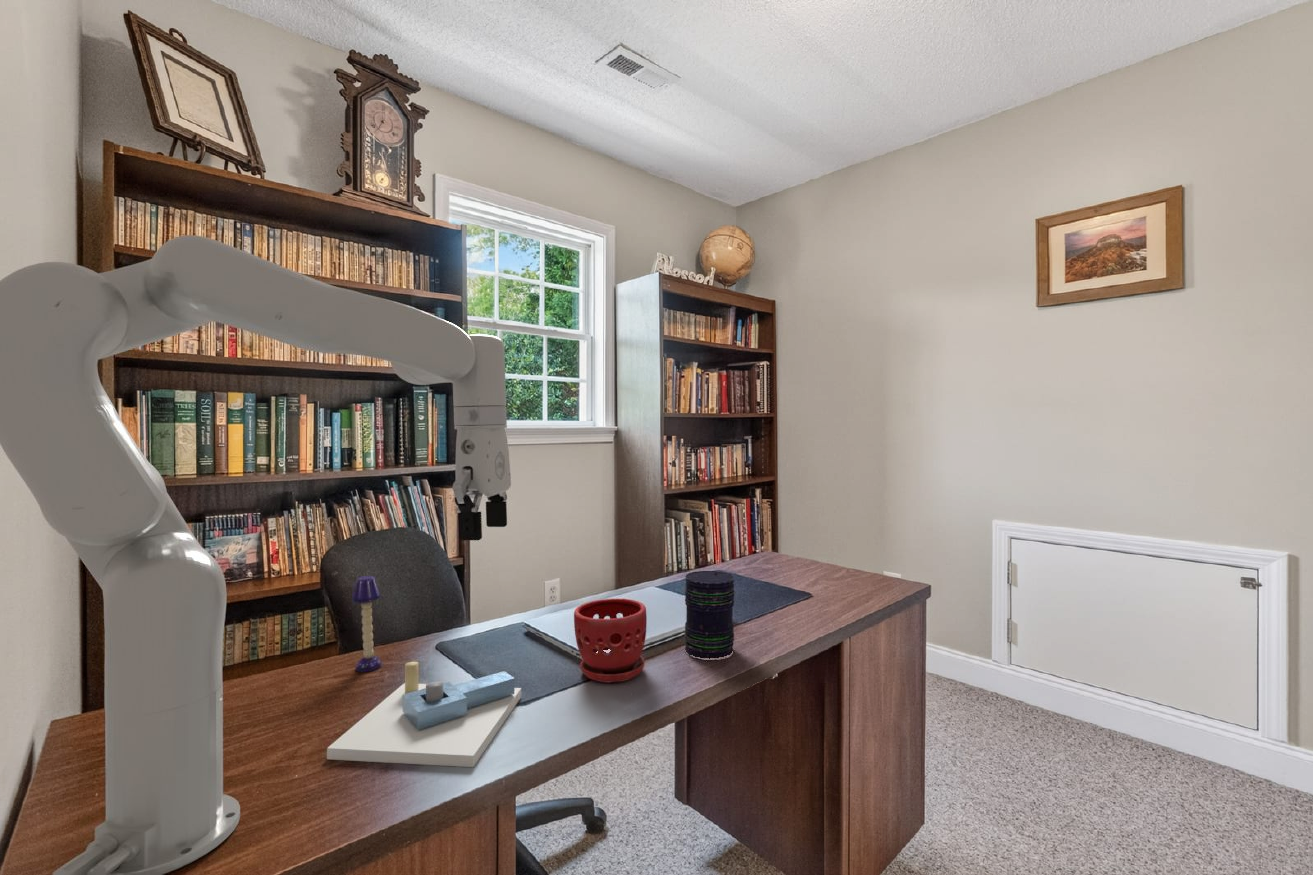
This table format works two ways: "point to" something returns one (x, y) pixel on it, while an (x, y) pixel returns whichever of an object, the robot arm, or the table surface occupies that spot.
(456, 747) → the post board
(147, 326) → the robot arm
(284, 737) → the table surface
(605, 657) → the plant pot
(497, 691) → the square nut with handle
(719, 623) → the storage jar
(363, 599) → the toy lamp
